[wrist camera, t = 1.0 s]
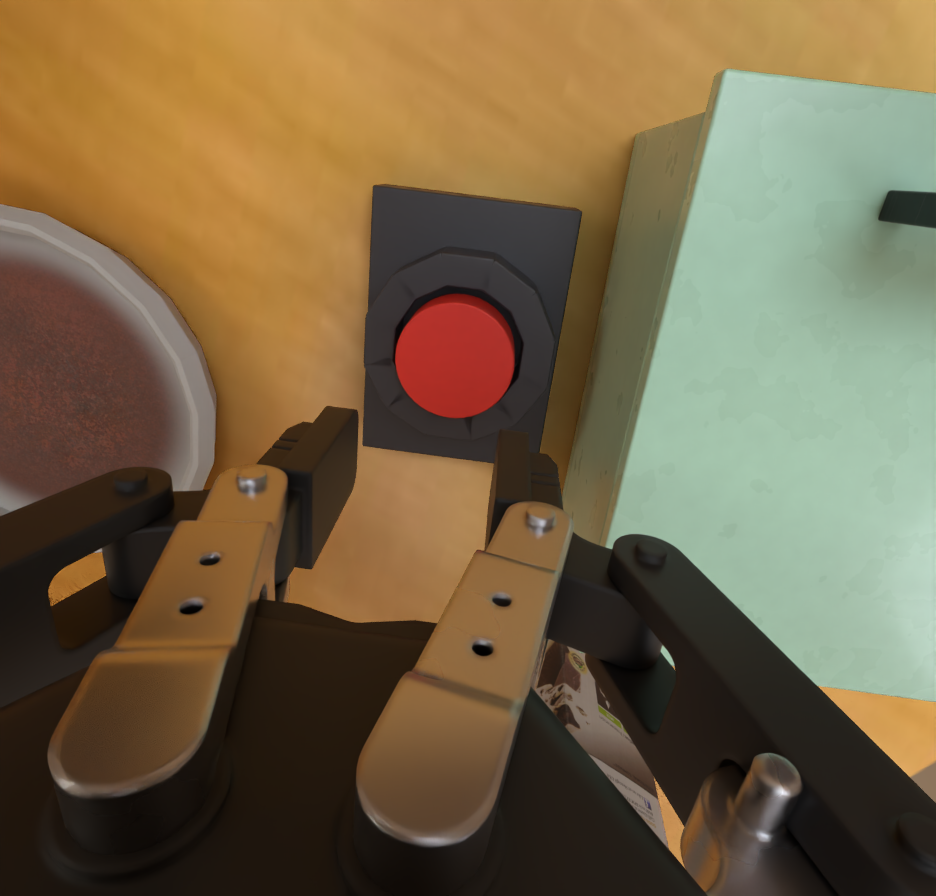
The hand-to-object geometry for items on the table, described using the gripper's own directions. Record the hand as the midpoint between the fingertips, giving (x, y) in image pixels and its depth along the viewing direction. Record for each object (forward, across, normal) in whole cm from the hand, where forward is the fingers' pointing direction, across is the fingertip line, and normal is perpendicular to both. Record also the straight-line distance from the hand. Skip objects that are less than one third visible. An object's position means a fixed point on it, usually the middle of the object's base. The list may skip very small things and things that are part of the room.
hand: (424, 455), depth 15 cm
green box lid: (+4, -13, 0) cm, 13 cm away
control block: (+13, 0, 0) cm, 13 cm away
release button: (+10, 0, 0) cm, 10 cm away
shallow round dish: (+13, +22, +10) cm, 28 cm away
